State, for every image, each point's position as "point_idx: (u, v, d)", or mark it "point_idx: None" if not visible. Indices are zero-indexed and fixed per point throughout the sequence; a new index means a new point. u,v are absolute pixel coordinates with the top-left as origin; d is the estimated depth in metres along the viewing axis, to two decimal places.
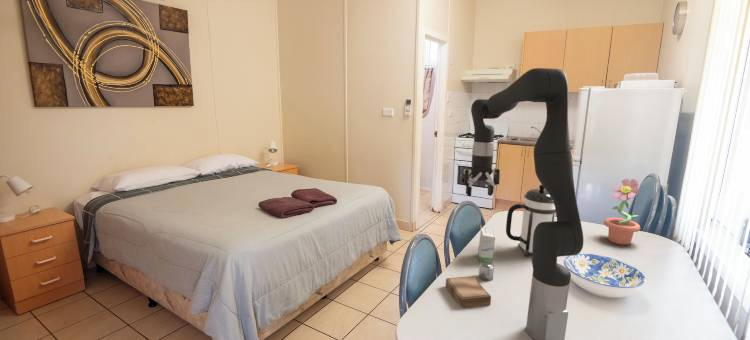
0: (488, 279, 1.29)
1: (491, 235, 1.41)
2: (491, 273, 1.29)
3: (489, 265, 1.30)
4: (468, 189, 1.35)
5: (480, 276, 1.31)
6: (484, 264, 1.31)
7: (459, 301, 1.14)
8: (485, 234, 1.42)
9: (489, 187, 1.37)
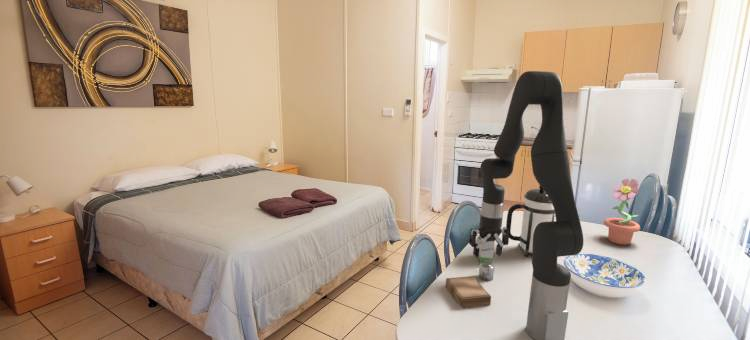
0: (488, 279, 1.29)
1: None
2: (491, 273, 1.29)
3: (489, 265, 1.30)
4: (476, 250, 1.28)
5: (480, 276, 1.31)
6: (484, 264, 1.31)
7: (459, 301, 1.14)
8: None
9: (497, 247, 1.31)
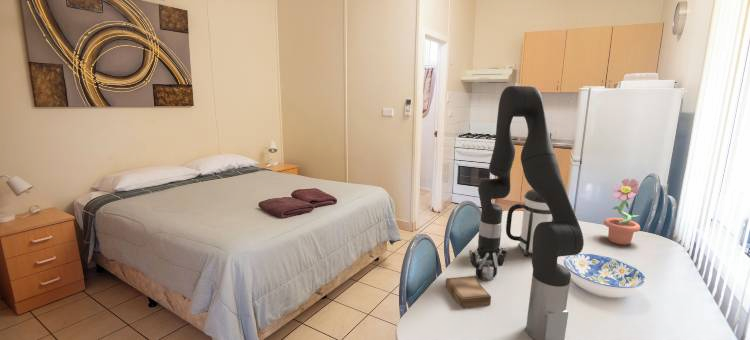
0: (488, 279, 1.29)
1: None
2: (491, 273, 1.29)
3: (489, 265, 1.30)
4: (478, 271, 1.30)
5: None
6: (484, 264, 1.31)
7: (459, 301, 1.14)
8: None
9: None
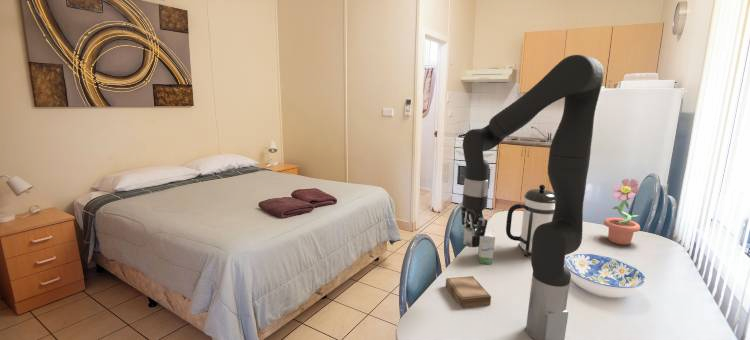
0: (464, 242, 1.16)
1: (491, 235, 1.41)
2: (466, 237, 1.15)
3: (470, 229, 1.14)
4: None
5: None
6: None
7: (459, 301, 1.14)
8: None
9: None
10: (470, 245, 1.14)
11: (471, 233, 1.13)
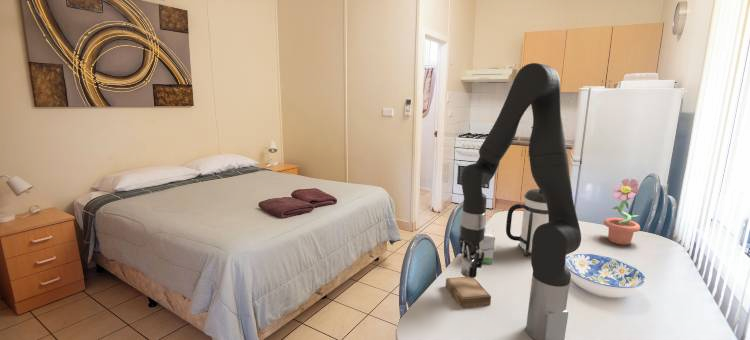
0: (461, 271, 1.18)
1: (491, 235, 1.41)
2: (463, 267, 1.17)
3: (468, 259, 1.17)
4: None
5: None
6: None
7: (459, 301, 1.14)
8: (484, 234, 1.42)
9: None
10: (467, 275, 1.16)
11: (468, 264, 1.15)
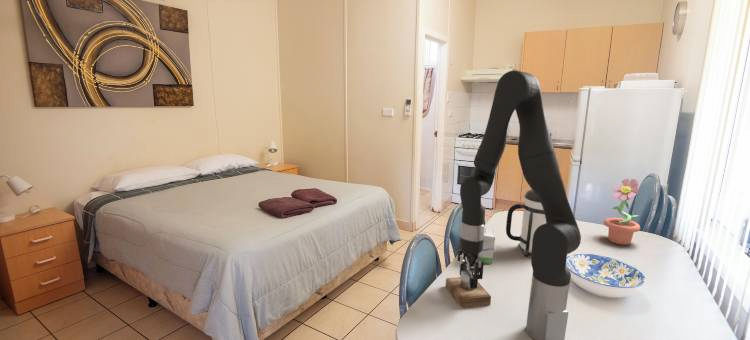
0: (460, 284, 1.19)
1: (491, 235, 1.41)
2: (462, 280, 1.18)
3: (467, 273, 1.18)
4: None
5: None
6: (468, 270, 1.19)
7: (459, 301, 1.14)
8: (484, 234, 1.42)
9: None
10: (466, 288, 1.17)
11: (467, 277, 1.16)
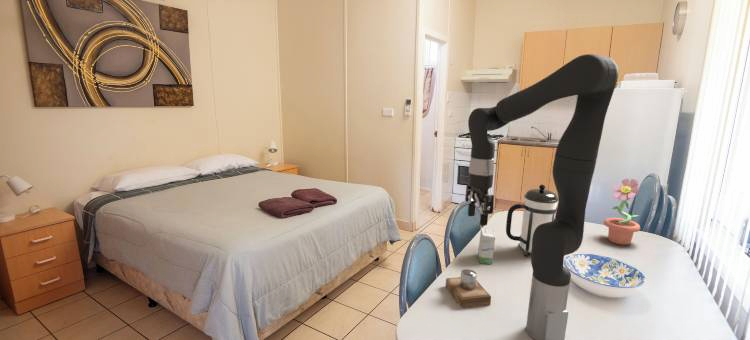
0: (460, 285, 1.19)
1: (491, 235, 1.41)
2: (462, 280, 1.18)
3: (467, 272, 1.18)
4: None
5: None
6: (468, 270, 1.19)
7: (459, 301, 1.14)
8: (485, 234, 1.42)
9: None
10: (466, 288, 1.17)
11: (467, 277, 1.16)
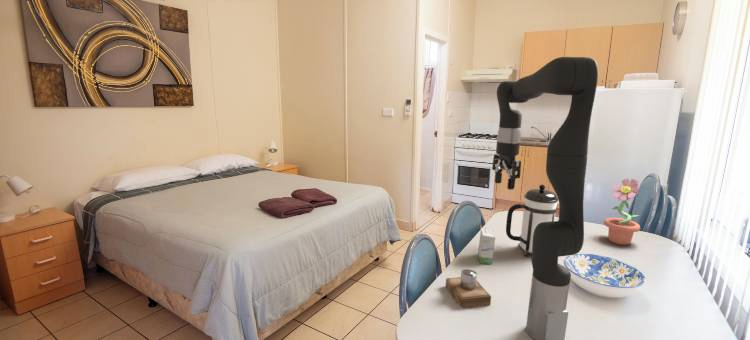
0: (460, 285, 1.19)
1: (491, 235, 1.41)
2: (462, 280, 1.18)
3: (467, 273, 1.18)
4: None
5: None
6: (468, 270, 1.19)
7: (459, 301, 1.14)
8: (484, 234, 1.42)
9: None
10: (467, 288, 1.17)
11: (467, 277, 1.16)
